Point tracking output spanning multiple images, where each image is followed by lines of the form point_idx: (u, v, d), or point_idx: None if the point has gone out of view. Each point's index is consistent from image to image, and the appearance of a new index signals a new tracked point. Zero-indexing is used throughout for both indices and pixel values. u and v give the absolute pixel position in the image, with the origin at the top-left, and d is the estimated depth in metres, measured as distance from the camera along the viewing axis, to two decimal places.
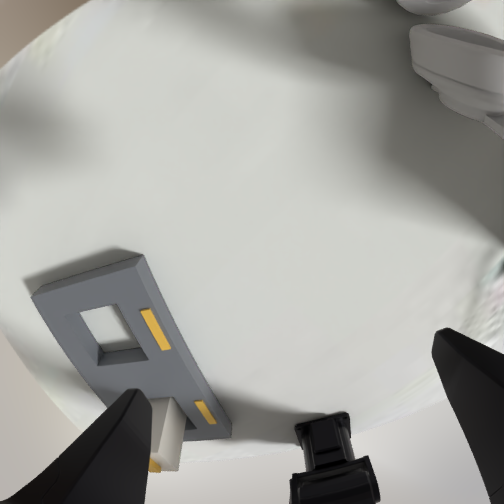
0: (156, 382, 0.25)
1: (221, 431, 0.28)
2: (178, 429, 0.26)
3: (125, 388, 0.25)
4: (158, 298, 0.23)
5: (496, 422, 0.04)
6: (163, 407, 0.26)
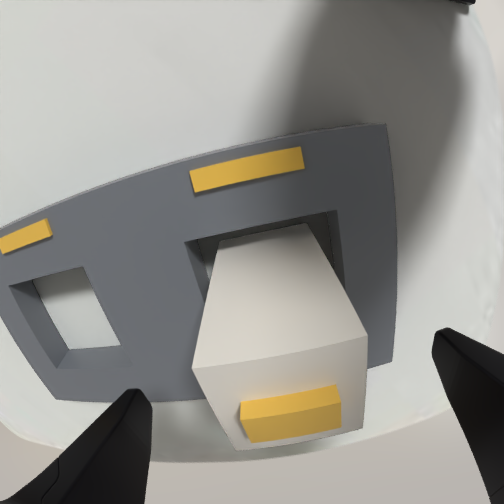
0: (139, 269, 0.12)
1: (350, 143, 0.10)
2: (289, 261, 0.10)
3: (180, 339, 0.14)
4: (10, 223, 0.12)
5: (496, 422, 0.04)
6: None
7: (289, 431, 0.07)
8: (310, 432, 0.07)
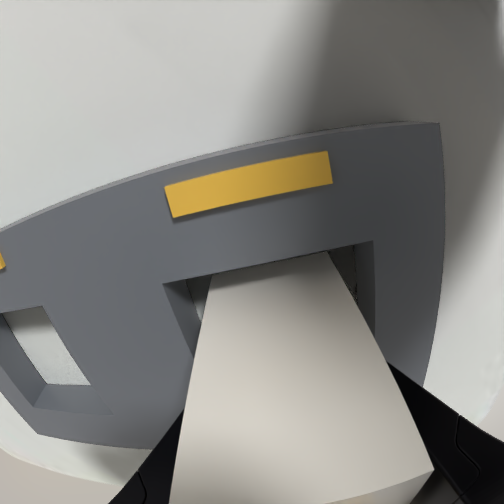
0: (108, 314, 0.09)
1: (395, 148, 0.07)
2: (308, 320, 0.07)
3: (165, 393, 0.10)
4: None
5: None
6: None
7: None
8: None
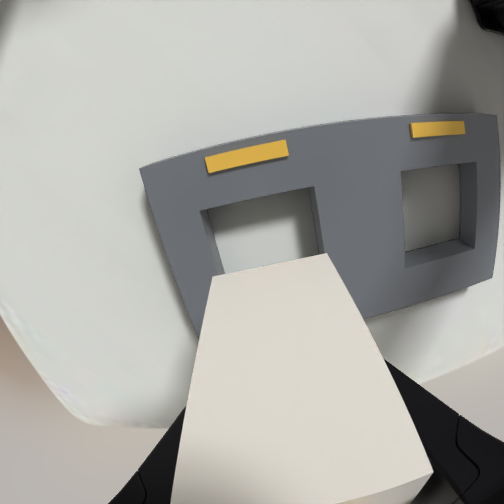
0: (365, 190, 0.15)
1: (482, 123, 0.13)
2: (308, 323, 0.07)
3: (378, 253, 0.17)
4: (206, 148, 0.15)
5: None
6: None
7: None
8: None
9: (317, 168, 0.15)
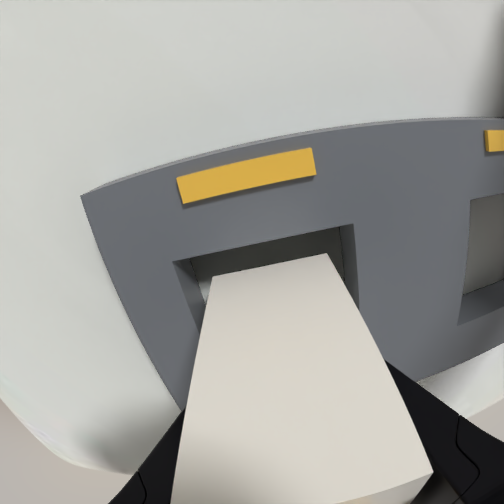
0: (425, 228, 0.09)
1: None
2: (308, 323, 0.07)
3: (430, 312, 0.11)
4: (182, 160, 0.10)
5: None
6: None
7: None
8: None
9: (359, 195, 0.09)
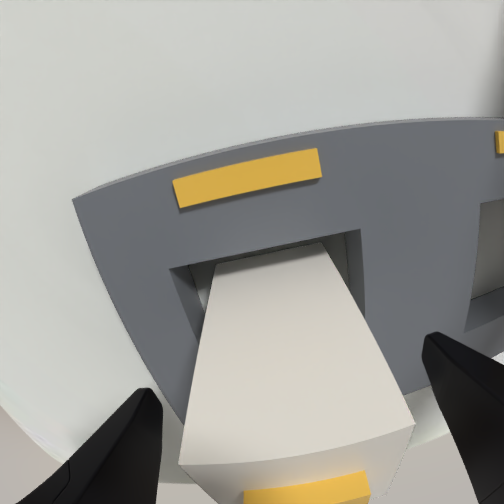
0: (434, 233, 0.09)
1: None
2: (303, 300, 0.08)
3: (437, 319, 0.10)
4: (179, 161, 0.09)
5: (485, 428, 0.04)
6: None
7: None
8: None
9: (367, 199, 0.08)
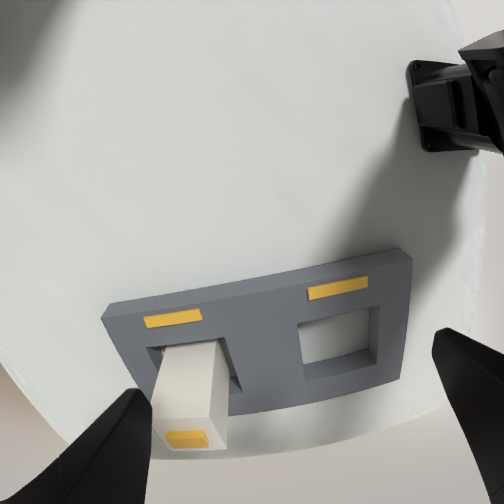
0: (266, 338, 0.20)
1: (392, 271, 0.19)
2: (195, 367, 0.19)
3: (281, 374, 0.22)
4: (146, 302, 0.20)
5: (496, 422, 0.04)
6: None
7: (186, 445, 0.15)
8: (195, 447, 0.16)
9: (225, 326, 0.20)
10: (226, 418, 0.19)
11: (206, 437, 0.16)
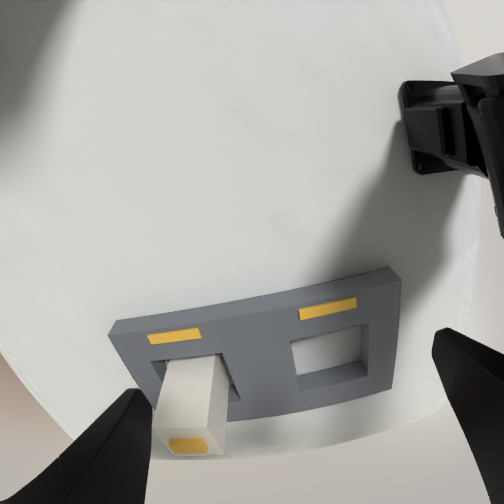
0: (261, 353, 0.21)
1: (380, 292, 0.20)
2: (196, 380, 0.21)
3: (276, 385, 0.23)
4: (149, 320, 0.22)
5: (496, 422, 0.04)
6: None
7: (187, 451, 0.17)
8: (195, 453, 0.17)
9: (223, 343, 0.21)
10: (224, 426, 0.20)
11: (205, 444, 0.17)
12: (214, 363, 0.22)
